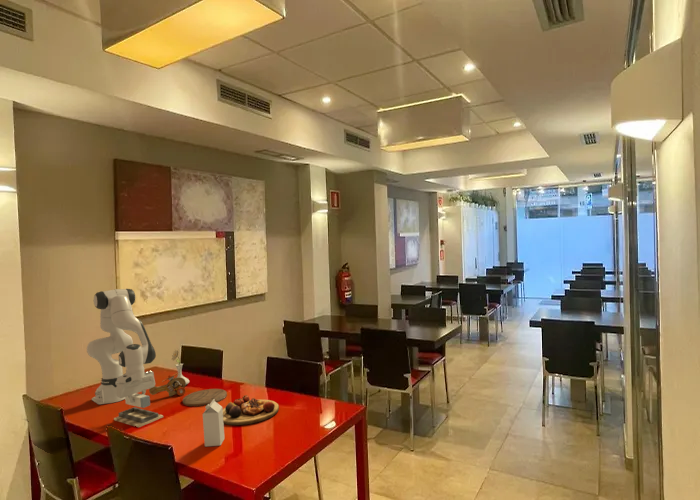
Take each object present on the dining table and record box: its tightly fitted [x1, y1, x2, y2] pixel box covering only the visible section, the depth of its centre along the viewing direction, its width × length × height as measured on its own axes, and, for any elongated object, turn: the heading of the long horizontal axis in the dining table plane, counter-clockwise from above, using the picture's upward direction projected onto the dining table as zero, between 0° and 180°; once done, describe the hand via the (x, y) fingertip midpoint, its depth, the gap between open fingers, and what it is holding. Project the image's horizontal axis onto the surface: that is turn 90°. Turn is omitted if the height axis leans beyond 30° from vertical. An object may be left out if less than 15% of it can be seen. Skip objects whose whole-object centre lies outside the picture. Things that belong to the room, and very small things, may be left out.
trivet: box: [182, 388, 228, 408], centre depth 257 cm, size 25×25×2 cm
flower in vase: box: [171, 348, 190, 386], centre depth 284 cm, size 13×11×25 cm
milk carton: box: [202, 399, 225, 447], centre depth 196 cm, size 7×7×19 cm
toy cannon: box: [148, 372, 187, 397], centre depth 264 cm, size 8×21×14 cm, turn 123°
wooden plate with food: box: [223, 394, 280, 426], centre depth 229 cm, size 32×32×8 cm
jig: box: [113, 406, 164, 428], centre depth 231 cm, size 23×14×3 cm, turn 58°
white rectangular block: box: [124, 392, 151, 409], centre depth 231 cm, size 16×4×5 cm, turn 58°
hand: (137, 400), depth 231 cm, fingers closed on white rectangular block, 4 cm apart
